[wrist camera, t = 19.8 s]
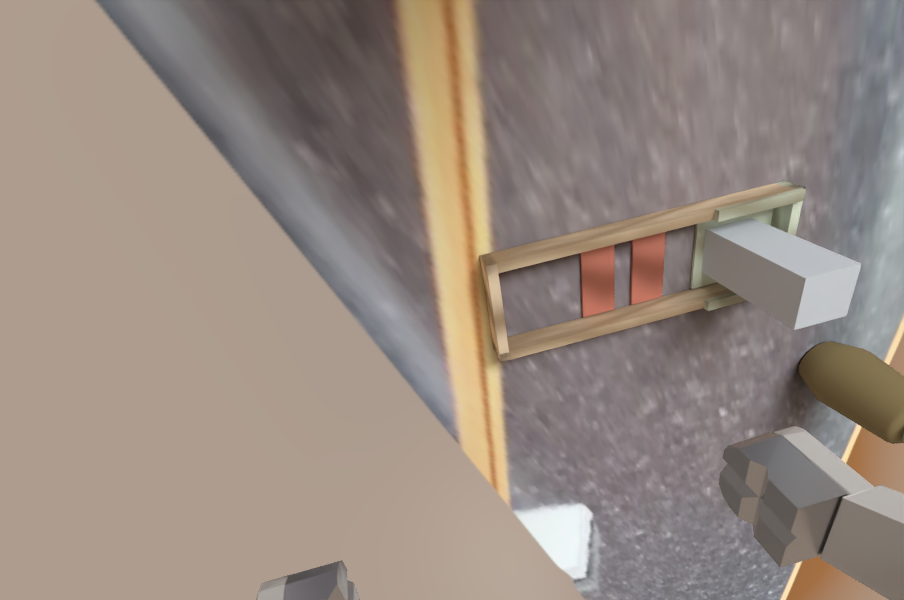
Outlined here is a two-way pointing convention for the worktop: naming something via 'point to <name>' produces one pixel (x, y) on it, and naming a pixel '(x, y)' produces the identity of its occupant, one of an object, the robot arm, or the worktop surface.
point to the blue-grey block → (780, 272)
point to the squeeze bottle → (857, 387)
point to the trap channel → (633, 267)
